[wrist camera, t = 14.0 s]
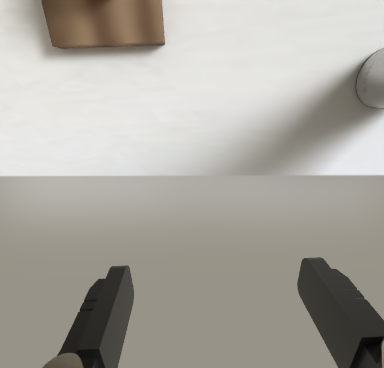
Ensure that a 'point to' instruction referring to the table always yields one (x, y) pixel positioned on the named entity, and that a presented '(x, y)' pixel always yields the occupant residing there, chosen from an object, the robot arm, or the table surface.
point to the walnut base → (104, 23)
